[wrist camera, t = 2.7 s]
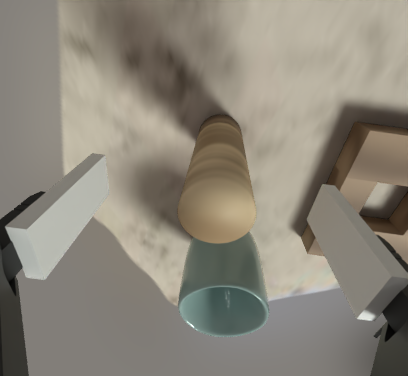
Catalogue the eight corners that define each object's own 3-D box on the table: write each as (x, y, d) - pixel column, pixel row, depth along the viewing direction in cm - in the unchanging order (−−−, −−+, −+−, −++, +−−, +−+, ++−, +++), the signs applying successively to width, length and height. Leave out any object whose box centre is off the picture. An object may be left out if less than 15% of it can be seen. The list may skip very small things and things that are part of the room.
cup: (238, 197, 26) (246, 274, 17) (265, 244, 29) (283, 327, 20) (179, 222, 28) (160, 299, 20) (210, 262, 31) (205, 343, 23)
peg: (201, 111, 21) (179, 175, 11) (245, 117, 21) (265, 187, 11) (196, 152, 23) (175, 237, 13) (236, 158, 23) (246, 248, 13)
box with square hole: (354, 121, 21) (370, 130, 18) (479, 139, 21) (508, 150, 18) (301, 237, 28) (307, 253, 26) (392, 250, 28) (406, 267, 26)
